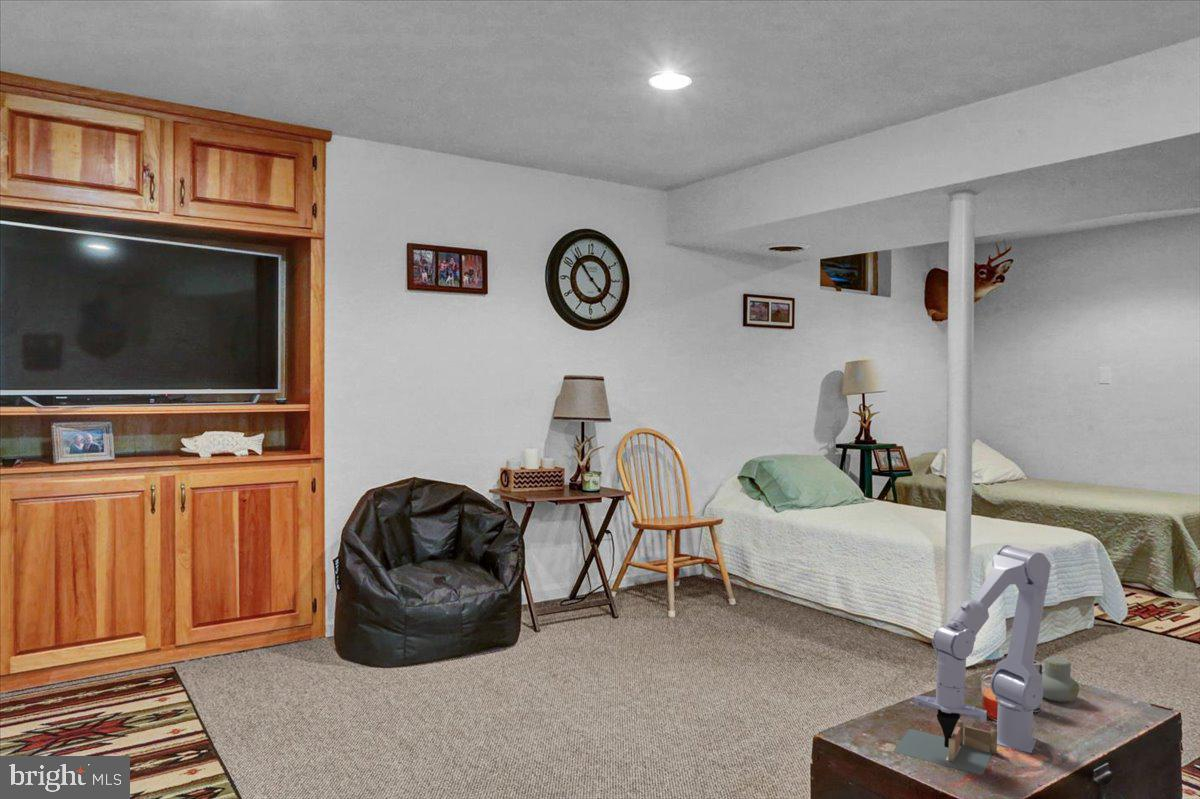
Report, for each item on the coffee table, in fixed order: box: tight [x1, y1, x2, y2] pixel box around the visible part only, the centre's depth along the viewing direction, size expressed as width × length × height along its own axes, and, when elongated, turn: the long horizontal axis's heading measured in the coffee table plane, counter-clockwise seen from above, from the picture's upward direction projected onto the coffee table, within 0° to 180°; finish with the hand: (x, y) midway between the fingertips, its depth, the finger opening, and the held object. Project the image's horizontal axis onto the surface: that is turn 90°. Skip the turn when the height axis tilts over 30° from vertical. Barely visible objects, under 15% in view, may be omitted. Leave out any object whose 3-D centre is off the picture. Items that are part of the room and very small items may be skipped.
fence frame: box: [954, 719, 998, 755], centre depth 186 cm, size 2×8×5 cm, turn 57°
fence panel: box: [948, 727, 961, 761], centre depth 183 cm, size 10×1×4 cm, turn 149°
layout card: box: [892, 728, 993, 776], centre depth 185 cm, size 15×18×1 cm
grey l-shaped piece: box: [1042, 656, 1080, 703], centre depth 219 cm, size 11×8×10 cm
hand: (948, 745), depth 183 cm, fingers closed
